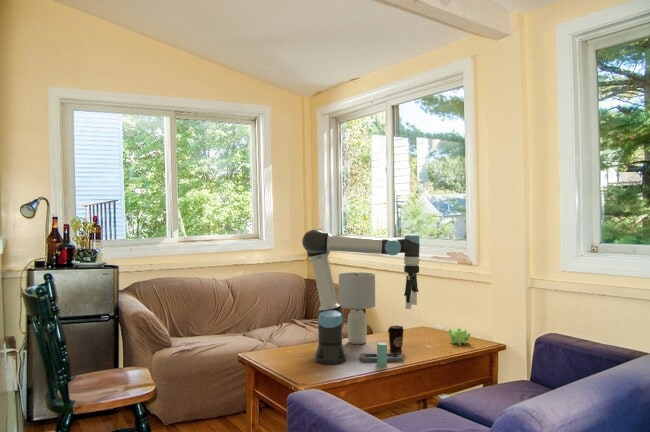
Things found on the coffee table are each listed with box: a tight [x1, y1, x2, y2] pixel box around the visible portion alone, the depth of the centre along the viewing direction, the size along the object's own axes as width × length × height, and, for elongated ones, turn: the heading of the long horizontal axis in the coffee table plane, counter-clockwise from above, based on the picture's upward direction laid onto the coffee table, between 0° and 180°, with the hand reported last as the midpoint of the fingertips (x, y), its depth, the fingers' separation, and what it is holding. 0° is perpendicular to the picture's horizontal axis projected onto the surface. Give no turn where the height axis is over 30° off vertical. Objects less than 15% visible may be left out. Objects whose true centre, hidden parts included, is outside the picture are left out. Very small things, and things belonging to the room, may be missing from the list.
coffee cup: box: [387, 325, 405, 354], centre depth 269 cm, size 9×8×13 cm
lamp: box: [338, 271, 376, 345], centre depth 289 cm, size 20×20×39 cm
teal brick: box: [376, 342, 388, 367], centre depth 246 cm, size 4×4×10 cm
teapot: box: [448, 327, 471, 346], centre depth 285 cm, size 11×12×8 cm
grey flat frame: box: [359, 352, 404, 363], centre depth 255 cm, size 20×9×2 cm, turn 93°
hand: (411, 306), depth 263 cm, fingers open, 13 cm apart
